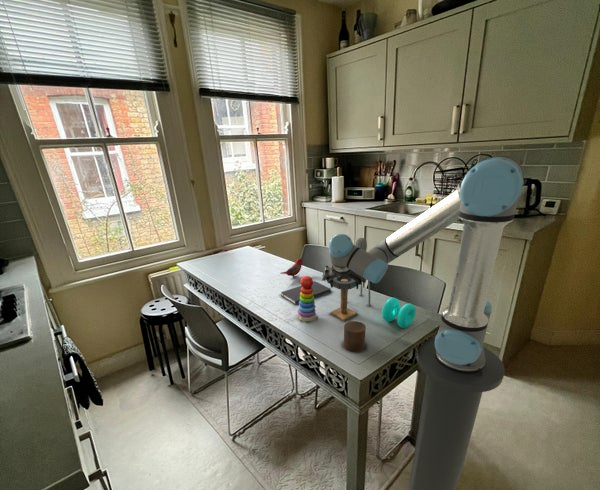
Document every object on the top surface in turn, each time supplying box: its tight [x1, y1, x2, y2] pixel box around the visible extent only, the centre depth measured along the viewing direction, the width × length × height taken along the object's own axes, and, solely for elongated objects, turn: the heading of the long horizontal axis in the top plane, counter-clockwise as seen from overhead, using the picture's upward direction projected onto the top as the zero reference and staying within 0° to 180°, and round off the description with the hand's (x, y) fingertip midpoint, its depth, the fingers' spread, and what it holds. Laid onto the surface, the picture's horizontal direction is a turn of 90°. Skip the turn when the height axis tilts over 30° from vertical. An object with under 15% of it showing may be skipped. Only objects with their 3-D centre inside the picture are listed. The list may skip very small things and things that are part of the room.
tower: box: [330, 279, 358, 322], centre depth 132 cm, size 8×8×16 cm
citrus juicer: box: [355, 237, 371, 307], centre depth 138 cm, size 11×10×30 cm
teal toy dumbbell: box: [381, 297, 417, 329], centre depth 125 cm, size 10×10×10 cm
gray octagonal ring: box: [332, 276, 356, 291], centre depth 129 cm, size 10×10×2 cm
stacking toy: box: [297, 275, 317, 322], centre depth 130 cm, size 8×8×19 cm
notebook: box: [280, 280, 331, 305], centre depth 155 cm, size 13×2×21 cm
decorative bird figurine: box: [280, 257, 304, 279], centre depth 171 cm, size 3×18×10 cm, turn 136°
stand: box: [343, 320, 367, 353], centre depth 113 cm, size 8×8×8 cm
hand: (344, 285), depth 133 cm, fingers closed on gray octagonal ring, 10 cm apart
